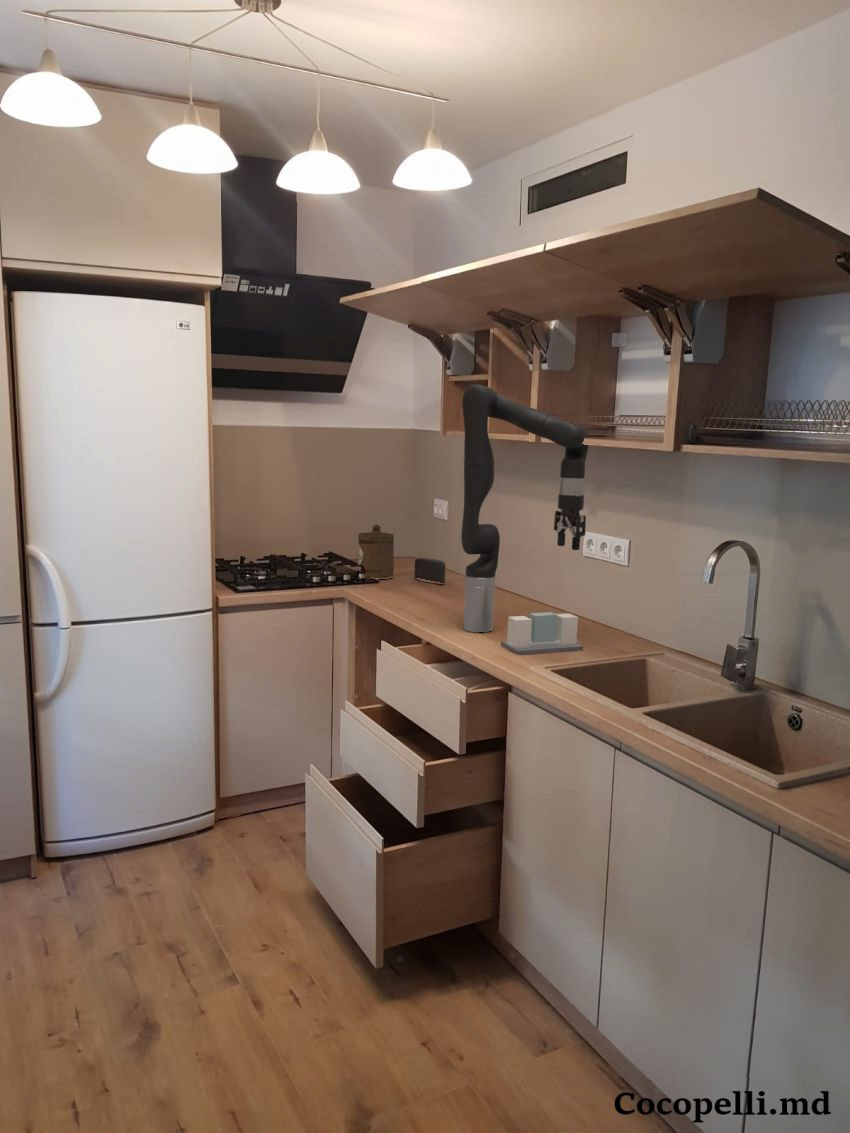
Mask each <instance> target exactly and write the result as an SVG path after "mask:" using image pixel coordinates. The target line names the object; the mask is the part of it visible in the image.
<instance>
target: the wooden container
mask: <svg viewBox="0 0 850 1133" xmlns="http://www.w3.org/2000/svg"><path fill="white" fill-rule="evenodd" d="M394 539H395V538H394V534H393V533H388V532H382V531H381V525H379V524H374V525H373V526H372V530H371V531H370V532H360V533H358V550H357V551H358V552H357V553H358V554H357V566H358V565H362V566H364V568H365V574H366V576H368V577H374V578H388V577H391V576H393V577H394V569H395V568H394V566H395V564H394V562H395V561H394V560H395V559H394V557H395V556H394V551H395V550H394V545H395V544H394Z"/></svg>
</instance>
